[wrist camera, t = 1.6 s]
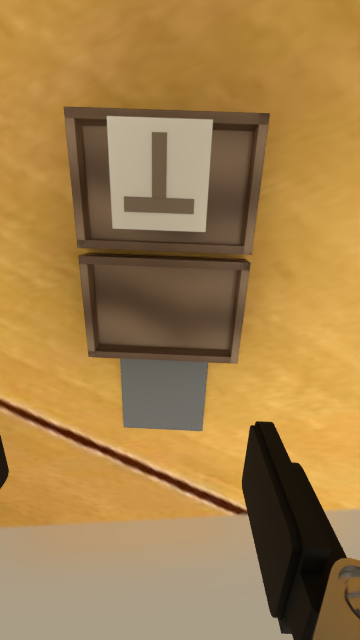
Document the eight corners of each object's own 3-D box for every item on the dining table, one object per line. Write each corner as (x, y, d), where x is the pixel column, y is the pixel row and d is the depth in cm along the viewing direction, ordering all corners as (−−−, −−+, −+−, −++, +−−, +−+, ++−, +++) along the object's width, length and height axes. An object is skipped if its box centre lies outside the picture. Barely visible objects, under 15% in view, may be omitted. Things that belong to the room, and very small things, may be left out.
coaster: (121, 356, 25) (120, 358, 25) (207, 360, 25) (207, 362, 25) (124, 424, 28) (123, 427, 28) (202, 428, 28) (202, 431, 28)
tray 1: (75, 117, 19) (63, 106, 17) (261, 124, 19) (269, 113, 17) (87, 245, 22) (77, 247, 20) (245, 251, 22) (251, 254, 20)
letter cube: (128, 144, 19) (106, 115, 13) (206, 147, 19) (213, 118, 13) (131, 226, 21) (112, 228, 15) (201, 229, 21) (205, 232, 15)
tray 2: (87, 252, 22) (78, 255, 20) (245, 259, 22) (250, 262, 20) (96, 346, 25) (88, 356, 23) (233, 352, 25) (237, 363, 23)
